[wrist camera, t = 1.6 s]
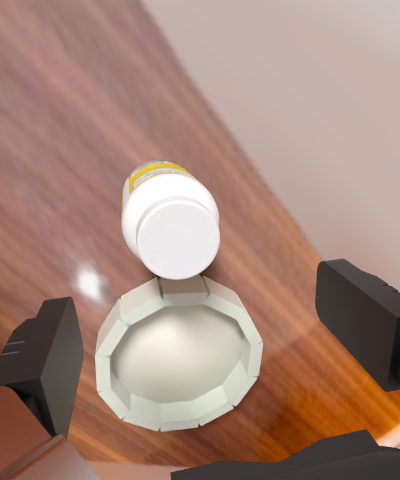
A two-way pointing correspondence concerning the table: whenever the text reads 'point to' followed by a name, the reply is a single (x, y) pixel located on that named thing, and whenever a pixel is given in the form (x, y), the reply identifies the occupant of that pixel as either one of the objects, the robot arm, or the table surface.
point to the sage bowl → (176, 353)
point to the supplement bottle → (169, 220)
